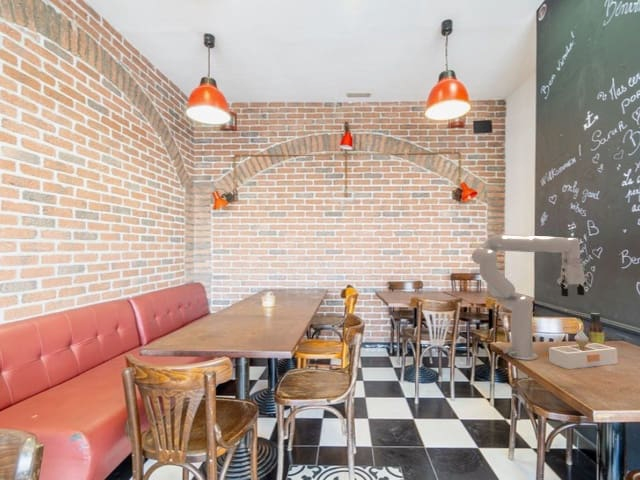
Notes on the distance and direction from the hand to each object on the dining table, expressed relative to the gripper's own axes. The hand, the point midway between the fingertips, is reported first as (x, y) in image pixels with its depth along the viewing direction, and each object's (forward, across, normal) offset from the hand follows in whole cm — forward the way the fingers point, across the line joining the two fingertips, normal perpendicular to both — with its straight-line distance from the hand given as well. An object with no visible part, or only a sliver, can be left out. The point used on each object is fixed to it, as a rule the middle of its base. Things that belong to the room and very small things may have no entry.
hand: (572, 295), depth 175 cm
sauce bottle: (+31, +16, +2) cm, 35 cm away
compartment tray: (+30, -7, -10) cm, 33 cm away
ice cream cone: (+29, -7, -10) cm, 32 cm away
